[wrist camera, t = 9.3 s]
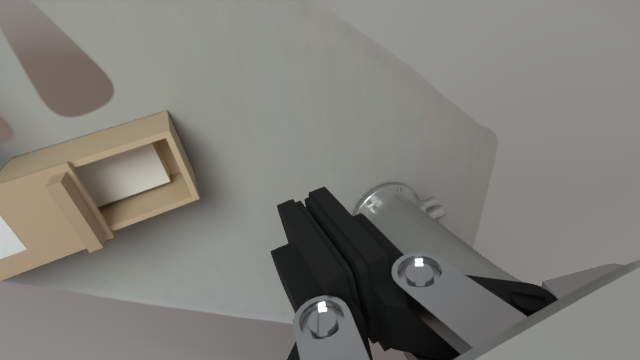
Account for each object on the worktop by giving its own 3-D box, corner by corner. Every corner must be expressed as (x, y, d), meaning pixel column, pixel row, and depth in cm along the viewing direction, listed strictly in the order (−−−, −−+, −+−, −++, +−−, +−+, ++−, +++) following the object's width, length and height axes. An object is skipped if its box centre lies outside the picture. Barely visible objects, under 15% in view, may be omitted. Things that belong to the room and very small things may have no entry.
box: (167, 110, 42) (169, 130, 35) (193, 170, 46) (199, 198, 39) (12, 158, 38) (-19, 190, 31) (55, 219, 42) (36, 259, 35)
